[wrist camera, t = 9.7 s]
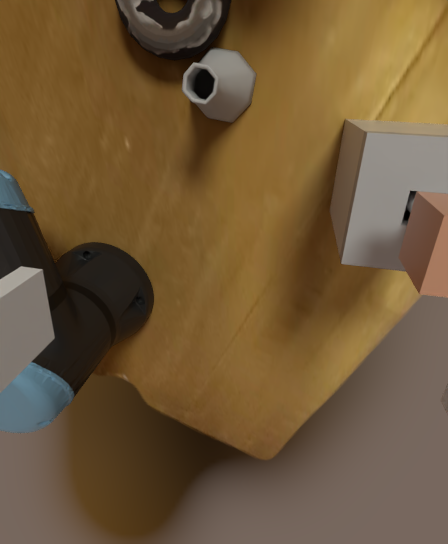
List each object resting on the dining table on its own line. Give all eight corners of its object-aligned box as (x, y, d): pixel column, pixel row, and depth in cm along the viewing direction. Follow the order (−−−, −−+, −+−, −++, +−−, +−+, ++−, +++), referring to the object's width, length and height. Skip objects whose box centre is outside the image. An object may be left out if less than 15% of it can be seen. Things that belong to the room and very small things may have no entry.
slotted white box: (419, 218, 42) (475, 279, 28) (329, 210, 43) (341, 263, 30) (446, 124, 37) (528, 142, 24) (345, 119, 39) (367, 132, 25)
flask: (268, 69, 38) (257, 62, 30) (235, 134, 42) (217, 145, 33) (208, 33, 38) (179, 15, 29) (180, 101, 41) (146, 103, 33)
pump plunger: (411, 203, 37) (509, 305, 19) (365, 199, 37) (419, 294, 20) (423, 158, 35) (545, 224, 17) (374, 154, 35) (444, 215, 18)
